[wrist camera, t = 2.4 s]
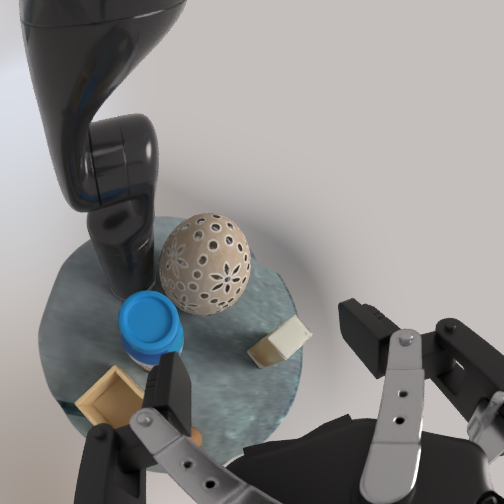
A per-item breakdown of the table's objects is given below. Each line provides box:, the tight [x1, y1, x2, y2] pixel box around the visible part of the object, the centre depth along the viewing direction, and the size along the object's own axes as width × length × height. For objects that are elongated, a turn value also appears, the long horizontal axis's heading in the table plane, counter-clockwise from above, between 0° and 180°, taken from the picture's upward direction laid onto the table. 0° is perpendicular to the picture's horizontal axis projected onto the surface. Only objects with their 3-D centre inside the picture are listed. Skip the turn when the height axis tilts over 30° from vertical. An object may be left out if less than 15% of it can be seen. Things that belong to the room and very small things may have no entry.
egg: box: [188, 426, 202, 447], centre depth 34 cm, size 4×4×6 cm
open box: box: [74, 365, 145, 429], centre depth 33 cm, size 9×9×8 cm
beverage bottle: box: [118, 290, 184, 372], centre depth 34 cm, size 8×8×20 cm
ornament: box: [159, 213, 251, 316], centre depth 43 cm, size 15×15×20 cm
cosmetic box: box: [247, 315, 312, 369], centre depth 43 cm, size 6×4×12 cm
